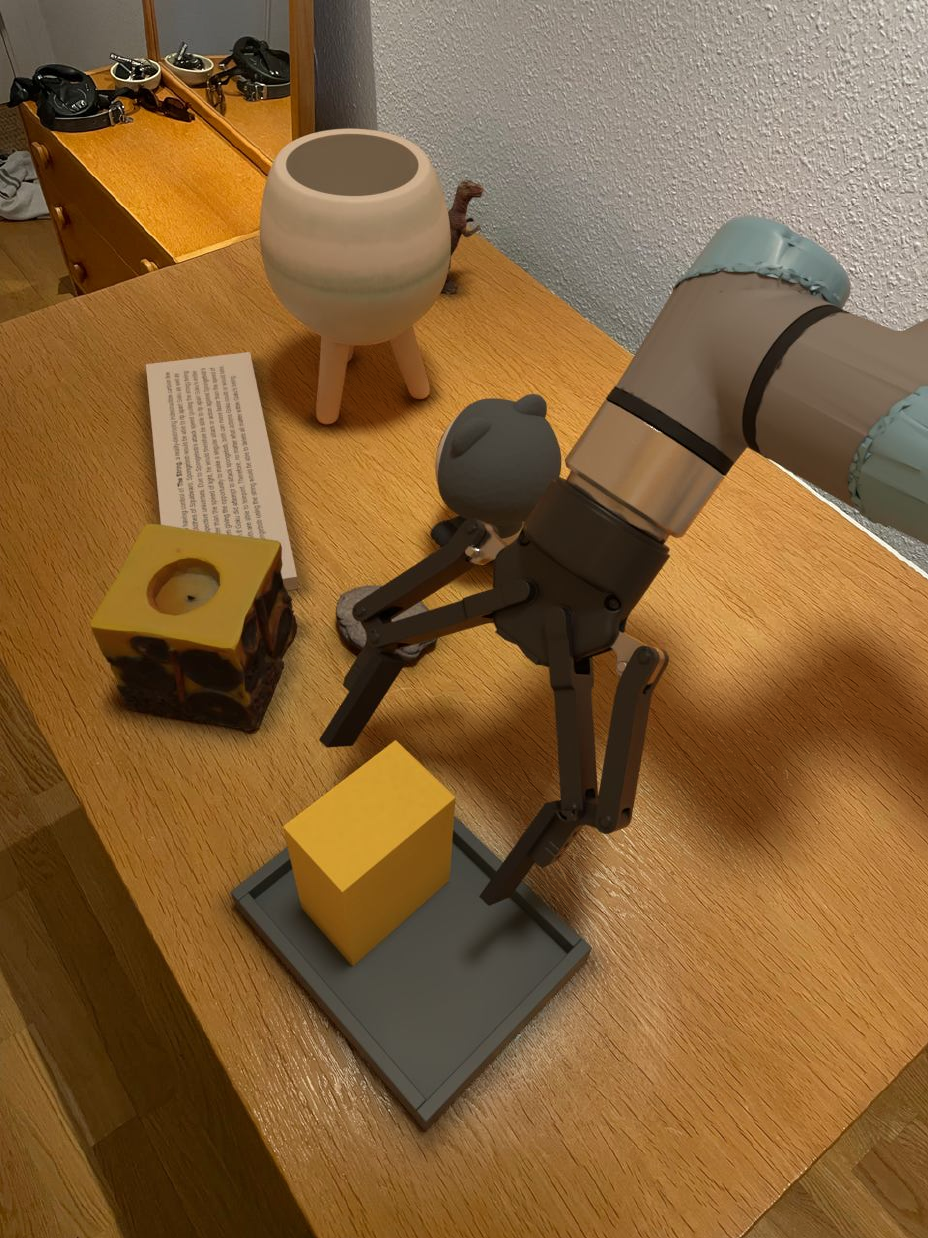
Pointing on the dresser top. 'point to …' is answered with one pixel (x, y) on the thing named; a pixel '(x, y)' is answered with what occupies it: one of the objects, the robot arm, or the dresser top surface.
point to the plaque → (215, 451)
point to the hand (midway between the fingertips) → (410, 816)
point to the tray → (426, 974)
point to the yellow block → (372, 850)
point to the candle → (197, 625)
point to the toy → (495, 465)
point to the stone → (354, 629)
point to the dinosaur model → (461, 221)
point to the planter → (356, 247)
